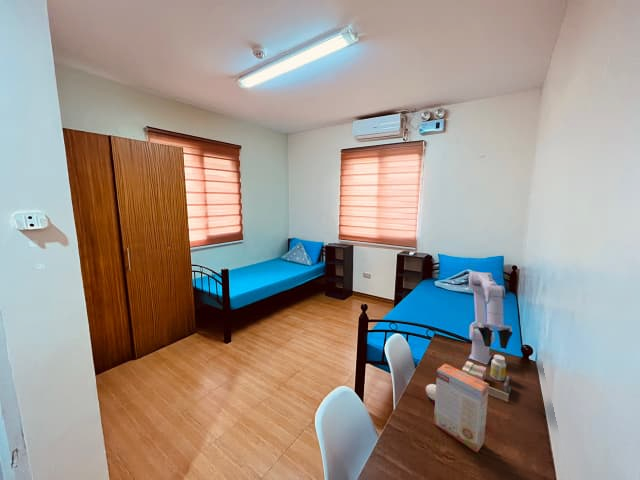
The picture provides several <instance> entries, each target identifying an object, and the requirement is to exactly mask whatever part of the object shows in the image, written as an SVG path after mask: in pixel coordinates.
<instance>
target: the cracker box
mask: <svg viewBox="0 0 640 480" xmlns="http://www.w3.org/2000/svg"><path fill="white" fill-rule="evenodd" d="M435 385H436V396H435V401H434V415H433V424H434V425H435V426H437V427H438V428H439V429H440V430H442V431H444V432H445V433H447V434H448V435H450V436H451V437H453V438H455V440H457V441H458V442H459V443H462V444H463V445H465V446H466V447H467V448H468V449H470V450H472V451H473V452H475V453H478V452H479V451H480V449H481V448H482V446H484V444H485V433H486V425H487V424H486V421H487V410H488V399H489V394H488V387H489V386H490V384H489V383H488V382H485V380H484V381H482V380H480V379H477V378H475V377H473V376H471V375H469V374H467V373H465V372H462V370H460V369H459V368H456V367H454V366H452V365H450V364H447V363H444V364H442V365H441V366H440V367H438V368H437V369H436V384H435Z"/></svg>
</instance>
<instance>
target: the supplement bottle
mask: <svg viewBox="0 0 640 480" xmlns="http://www.w3.org/2000/svg"><path fill="white" fill-rule="evenodd" d="M490 362H491V364H490V373H489V375H490V377H491V378H493V380H494V379H495V380H497V381H505V380H506V369H507V364H506V363H507V362H506V359H505V357H504V356H503V355H501V354H494V355H493V359H492V360H491V361H490Z"/></svg>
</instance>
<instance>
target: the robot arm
mask: <svg viewBox="0 0 640 480" xmlns="http://www.w3.org/2000/svg"><path fill="white" fill-rule="evenodd" d="M468 286H469V289H472V292H473V297H474V298H473V301H474V302H473V303H474V314H475V315H474V319H475V321H473V322H472V323H471V324H470V325H469V331H468V332H469V339H470V340H471V341H472V342H471V343H472V344H471V353H470V354H469V356H468V359H469V360H473V361H475V362H477V363H481V364H484V365H488V364H489V362H490V361H491V358H492V355H490V348H491V345H492V344H493V343H494V342H495V333H494V330H496V331H497V334H498V337H499V347H500V349H504V350H506V349H507V347H508V344H509V341H510V338H511V337H512V335H513V329H512V326H509V325H504V302H503V300H504V299H505V296H506V295H505V294H506V293H505V292H506V291H505V290H506V289H505V288H504V285H498V284H497V283H496V281H495V280H494V279H493V274H492V273H491V272H480V271H472V270H471V271H470V272H469V274H468Z"/></svg>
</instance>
